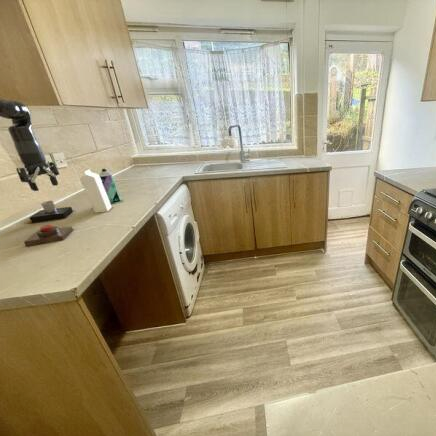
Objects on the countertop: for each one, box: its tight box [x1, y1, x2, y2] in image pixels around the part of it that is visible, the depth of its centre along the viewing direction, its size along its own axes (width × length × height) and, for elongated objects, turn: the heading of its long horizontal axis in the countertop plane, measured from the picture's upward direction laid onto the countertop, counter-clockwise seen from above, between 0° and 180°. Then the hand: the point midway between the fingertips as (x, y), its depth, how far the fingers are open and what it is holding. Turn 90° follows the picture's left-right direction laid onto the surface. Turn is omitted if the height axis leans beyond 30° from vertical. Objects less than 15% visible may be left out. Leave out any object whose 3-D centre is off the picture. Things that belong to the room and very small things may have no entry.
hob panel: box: [29, 206, 74, 224], centre depth 124 cm, size 13×10×3 cm
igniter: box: [23, 225, 74, 248], centre depth 102 cm, size 12×10×4 cm
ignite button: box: [39, 224, 53, 232], centre depth 101 cm, size 4×4×2 cm
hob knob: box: [40, 200, 57, 213], centre depth 122 cm, size 4×4×5 cm
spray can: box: [98, 168, 122, 204], centre depth 138 cm, size 6×6×20 cm
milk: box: [80, 168, 112, 214], centre depth 126 cm, size 6×6×22 cm
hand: (46, 187), depth 111 cm, fingers open, 8 cm apart
